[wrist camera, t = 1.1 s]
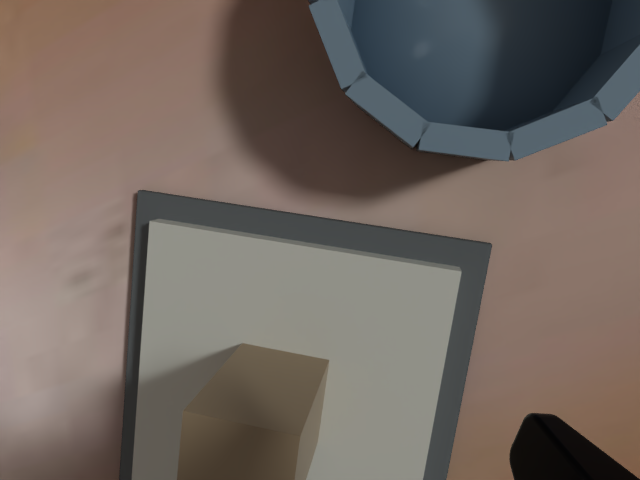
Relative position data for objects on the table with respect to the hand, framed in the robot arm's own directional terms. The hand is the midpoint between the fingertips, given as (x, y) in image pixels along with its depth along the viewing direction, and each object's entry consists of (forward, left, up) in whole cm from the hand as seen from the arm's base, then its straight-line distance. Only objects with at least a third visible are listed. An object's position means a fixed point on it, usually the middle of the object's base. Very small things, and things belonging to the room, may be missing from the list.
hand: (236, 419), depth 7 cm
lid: (-6, +2, -13) cm, 14 cm away
